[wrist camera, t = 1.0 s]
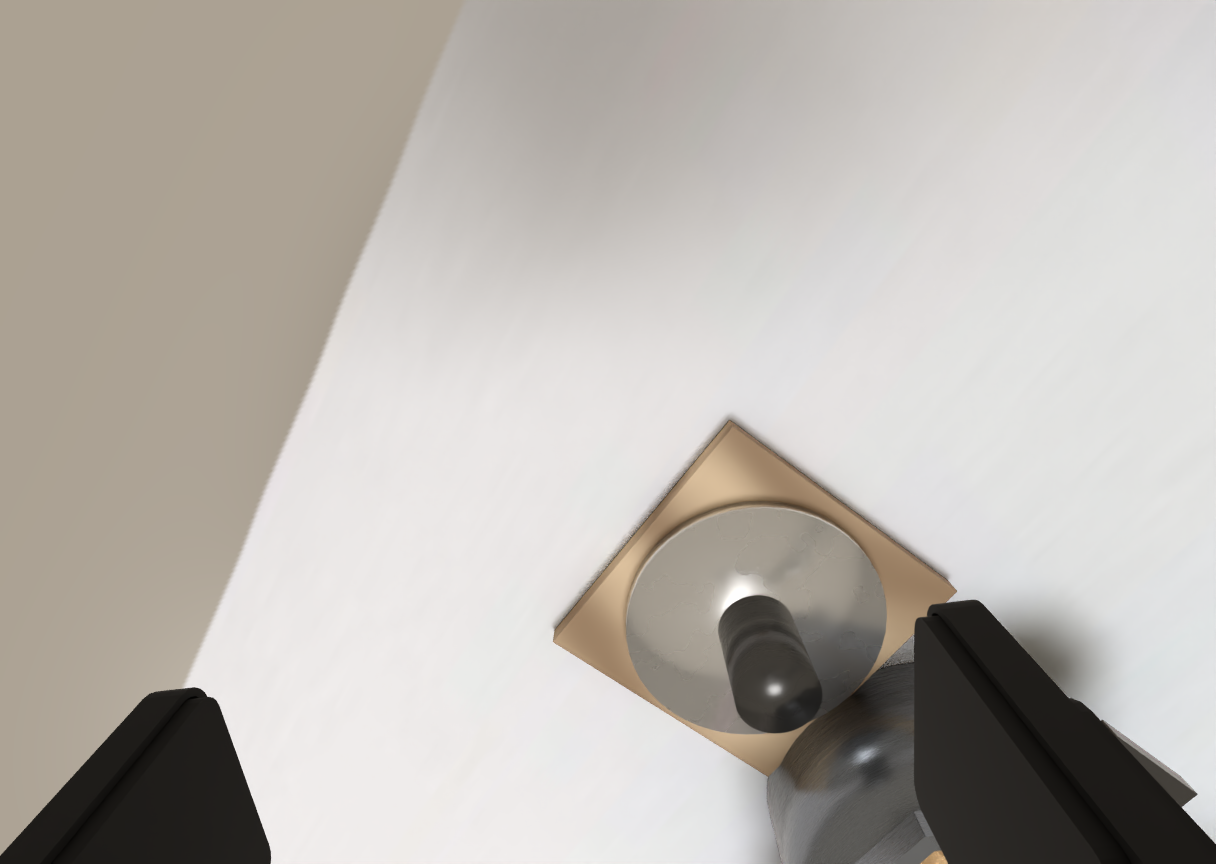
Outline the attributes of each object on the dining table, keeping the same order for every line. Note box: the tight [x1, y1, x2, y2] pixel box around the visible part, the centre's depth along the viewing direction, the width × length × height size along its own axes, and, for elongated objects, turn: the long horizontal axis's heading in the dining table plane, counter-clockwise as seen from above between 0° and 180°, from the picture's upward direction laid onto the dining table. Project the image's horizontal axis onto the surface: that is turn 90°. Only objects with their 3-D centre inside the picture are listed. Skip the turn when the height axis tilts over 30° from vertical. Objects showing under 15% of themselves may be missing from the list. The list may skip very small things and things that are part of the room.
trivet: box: [553, 420, 957, 777], centre depth 36 cm, size 14×14×1 cm
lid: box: [626, 501, 887, 735], centre depth 33 cm, size 12×12×6 cm
